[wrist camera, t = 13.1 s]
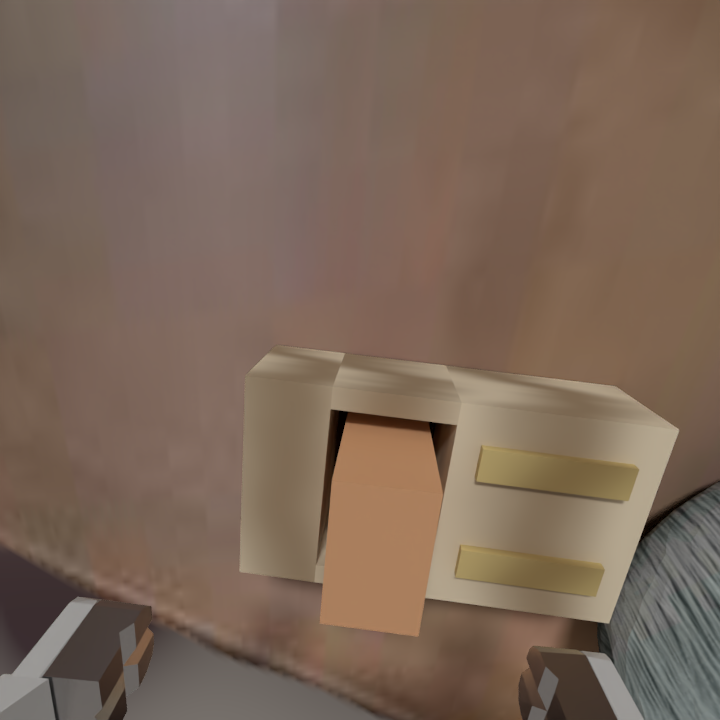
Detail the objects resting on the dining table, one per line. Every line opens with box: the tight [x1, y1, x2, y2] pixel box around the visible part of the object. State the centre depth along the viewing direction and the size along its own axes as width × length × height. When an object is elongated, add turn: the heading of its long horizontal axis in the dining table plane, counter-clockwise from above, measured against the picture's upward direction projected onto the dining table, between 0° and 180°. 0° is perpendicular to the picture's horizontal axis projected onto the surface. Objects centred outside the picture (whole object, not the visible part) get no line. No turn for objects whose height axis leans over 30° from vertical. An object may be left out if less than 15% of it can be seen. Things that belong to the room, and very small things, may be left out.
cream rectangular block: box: [240, 345, 679, 623], centre depth 17 cm, size 14×8×4 cm, turn 84°
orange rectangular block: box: [320, 411, 443, 637], centre depth 15 cm, size 3×5×7 cm, turn 175°
